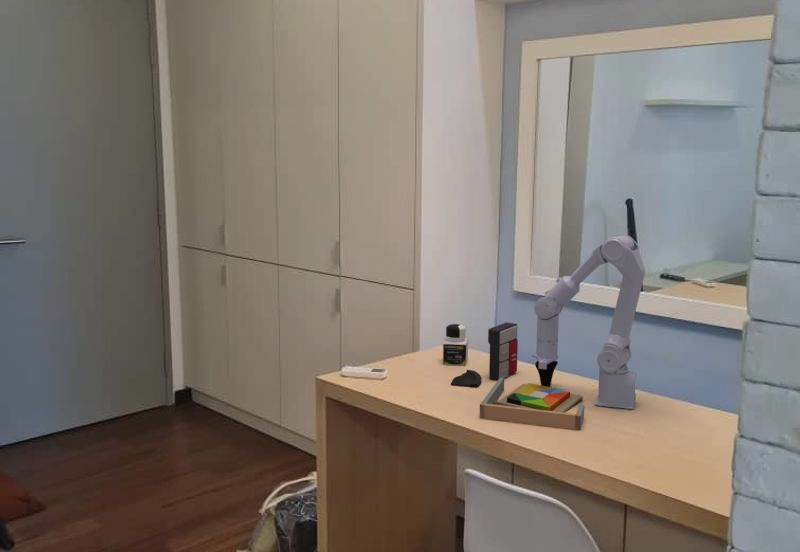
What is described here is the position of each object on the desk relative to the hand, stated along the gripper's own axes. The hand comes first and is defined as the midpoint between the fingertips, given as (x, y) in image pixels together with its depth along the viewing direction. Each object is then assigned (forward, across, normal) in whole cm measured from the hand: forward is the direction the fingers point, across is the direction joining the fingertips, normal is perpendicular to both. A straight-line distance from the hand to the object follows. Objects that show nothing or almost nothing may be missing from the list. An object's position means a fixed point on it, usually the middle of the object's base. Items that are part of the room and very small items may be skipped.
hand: (545, 387), depth 206 cm
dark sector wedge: (+2, -2, -22) cm, 22 cm away
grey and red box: (+1, -10, -14) cm, 17 cm away
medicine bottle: (+1, -19, -31) cm, 36 cm away
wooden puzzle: (+2, +10, 0) cm, 11 cm away
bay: (+1, +15, 0) cm, 15 cm away
